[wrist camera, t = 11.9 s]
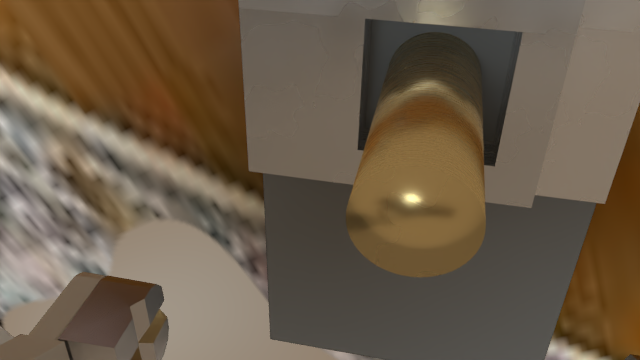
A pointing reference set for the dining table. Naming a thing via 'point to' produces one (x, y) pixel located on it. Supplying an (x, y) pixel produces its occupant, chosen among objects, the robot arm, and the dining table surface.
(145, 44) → the dining table surface
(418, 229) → the brass pin
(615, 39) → the frame
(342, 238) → the mat
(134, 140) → the dining table surface
